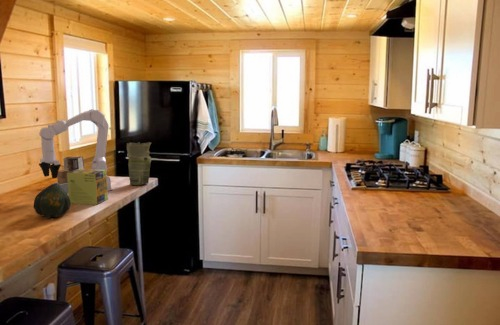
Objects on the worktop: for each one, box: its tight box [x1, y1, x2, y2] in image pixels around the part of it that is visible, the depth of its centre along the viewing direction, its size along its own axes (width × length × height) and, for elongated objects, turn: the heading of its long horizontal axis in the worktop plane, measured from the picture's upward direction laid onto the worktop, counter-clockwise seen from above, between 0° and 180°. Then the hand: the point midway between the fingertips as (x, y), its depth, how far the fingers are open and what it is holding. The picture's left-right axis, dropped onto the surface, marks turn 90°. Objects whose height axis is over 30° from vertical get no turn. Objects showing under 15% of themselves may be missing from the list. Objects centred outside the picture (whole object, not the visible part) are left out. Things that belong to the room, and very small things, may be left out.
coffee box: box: [62, 156, 85, 172], centre depth 239 cm, size 9×6×16 cm
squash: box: [33, 182, 72, 220], centre depth 181 cm, size 14×15×15 cm
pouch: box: [126, 141, 152, 186], centre depth 239 cm, size 11×12×25 cm
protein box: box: [67, 168, 109, 206], centre depth 203 cm, size 10×15×16 cm
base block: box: [55, 181, 68, 194], centre depth 222 cm, size 7×7×6 cm
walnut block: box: [56, 169, 69, 184], centre depth 221 cm, size 4×4×6 cm
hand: (50, 177), depth 211 cm, fingers open, 7 cm apart
